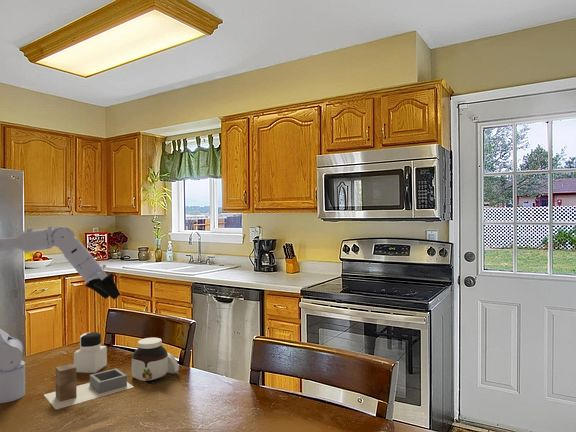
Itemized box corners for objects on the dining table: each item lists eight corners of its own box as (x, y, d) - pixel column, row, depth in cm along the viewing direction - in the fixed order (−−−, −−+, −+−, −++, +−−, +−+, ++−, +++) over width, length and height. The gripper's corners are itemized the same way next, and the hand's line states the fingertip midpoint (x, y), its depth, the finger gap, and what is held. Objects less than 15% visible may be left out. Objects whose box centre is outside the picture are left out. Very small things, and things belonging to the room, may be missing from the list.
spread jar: (127, 382, 125) (127, 343, 125) (149, 369, 136) (148, 332, 136) (164, 386, 123) (164, 346, 123) (183, 372, 134) (182, 335, 134)
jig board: (55, 413, 106) (55, 397, 106) (43, 398, 115) (43, 383, 115) (134, 390, 120) (134, 376, 120) (117, 378, 129) (117, 365, 129)
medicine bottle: (107, 367, 138) (106, 330, 138) (95, 376, 131) (94, 337, 131) (86, 367, 139) (86, 330, 139) (73, 375, 132) (72, 336, 131)
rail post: (60, 401, 111) (59, 371, 110) (55, 397, 113) (55, 367, 113) (76, 397, 113) (76, 367, 113) (72, 392, 116) (71, 363, 116)
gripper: (102, 251, 120) (132, 287, 124) (87, 254, 131) (115, 287, 135) (81, 267, 116) (112, 304, 120) (67, 269, 127) (96, 303, 131)
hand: (112, 296), depth 127 cm, fingers open, 7 cm apart
